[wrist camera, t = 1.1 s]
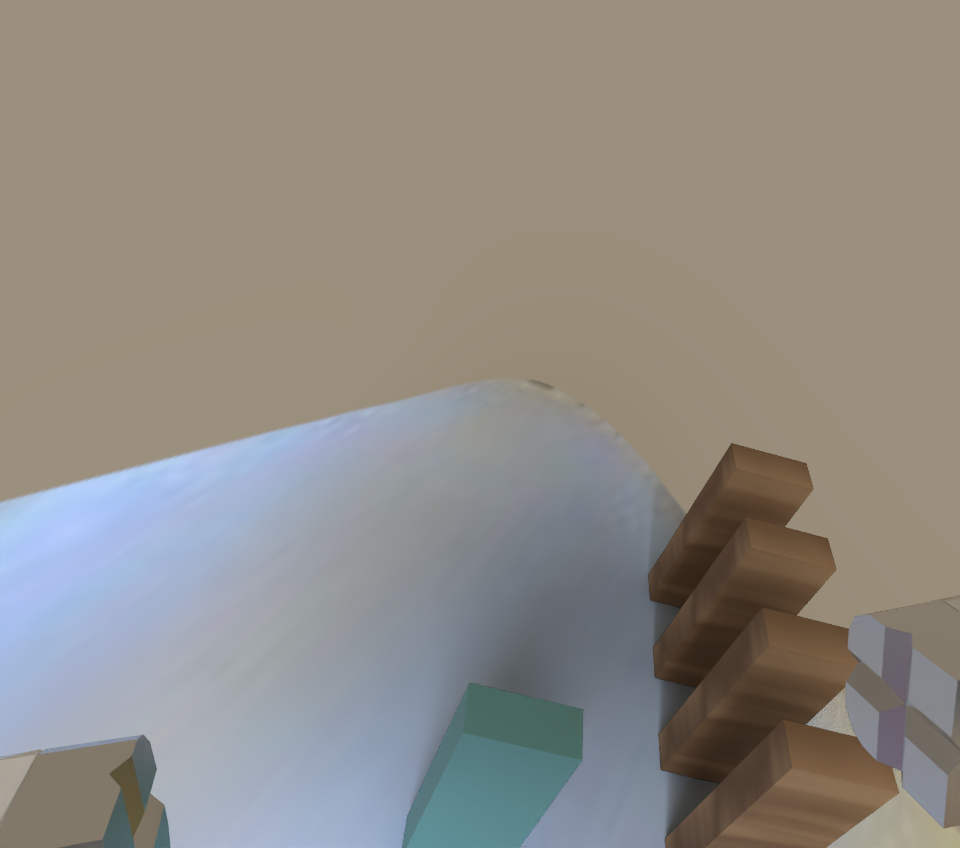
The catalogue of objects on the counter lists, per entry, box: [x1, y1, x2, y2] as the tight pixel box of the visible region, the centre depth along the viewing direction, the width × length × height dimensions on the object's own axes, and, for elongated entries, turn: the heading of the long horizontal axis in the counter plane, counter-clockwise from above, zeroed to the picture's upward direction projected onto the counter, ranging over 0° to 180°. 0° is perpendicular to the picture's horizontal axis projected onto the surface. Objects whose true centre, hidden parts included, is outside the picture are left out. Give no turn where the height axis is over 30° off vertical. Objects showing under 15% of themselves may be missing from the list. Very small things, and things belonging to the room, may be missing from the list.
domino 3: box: [653, 517, 836, 688], centre depth 45 cm, size 2×4×12 cm, turn 84°
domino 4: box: [659, 607, 858, 784], centre depth 41 cm, size 2×4×12 cm, turn 84°
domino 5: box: [665, 720, 899, 848], centre depth 37 cm, size 2×4×12 cm, turn 84°
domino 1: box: [402, 683, 583, 848], centre depth 34 cm, size 2×4×12 cm, turn 84°
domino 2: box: [648, 443, 813, 608], centre depth 49 cm, size 2×4×12 cm, turn 84°
